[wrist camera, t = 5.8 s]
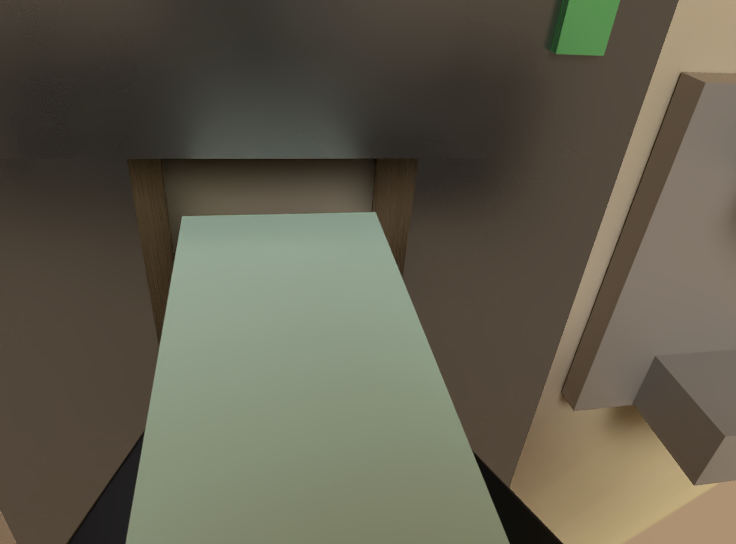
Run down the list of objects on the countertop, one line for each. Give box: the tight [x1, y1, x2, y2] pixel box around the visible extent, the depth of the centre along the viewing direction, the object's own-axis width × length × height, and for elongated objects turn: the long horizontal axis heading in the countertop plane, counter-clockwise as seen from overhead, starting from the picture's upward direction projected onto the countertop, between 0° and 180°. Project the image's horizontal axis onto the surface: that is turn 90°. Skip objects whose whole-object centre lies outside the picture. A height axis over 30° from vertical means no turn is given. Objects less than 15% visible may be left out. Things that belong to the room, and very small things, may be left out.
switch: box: [0, 0, 679, 544], centre depth 12 cm, size 18×12×3 cm, turn 176°
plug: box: [126, 212, 510, 544], centre depth 7 cm, size 5×3×7 cm, turn 176°
